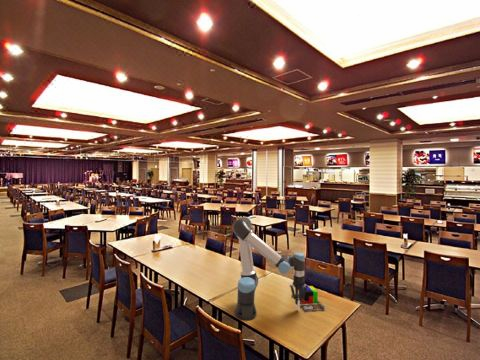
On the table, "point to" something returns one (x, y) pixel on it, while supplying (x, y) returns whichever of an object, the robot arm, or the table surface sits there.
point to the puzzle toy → (310, 295)
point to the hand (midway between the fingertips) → (298, 308)
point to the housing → (316, 307)
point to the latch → (308, 307)
